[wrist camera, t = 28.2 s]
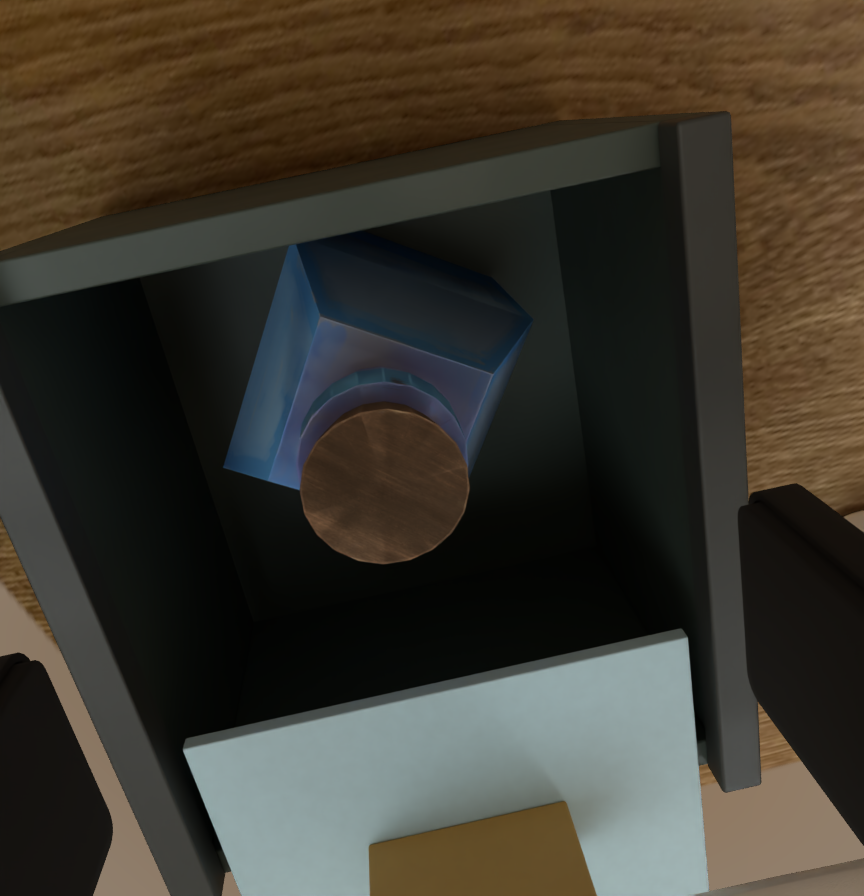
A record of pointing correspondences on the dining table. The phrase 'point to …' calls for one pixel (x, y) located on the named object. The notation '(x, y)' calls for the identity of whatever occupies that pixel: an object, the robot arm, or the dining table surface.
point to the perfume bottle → (377, 391)
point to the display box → (491, 480)
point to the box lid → (473, 785)
